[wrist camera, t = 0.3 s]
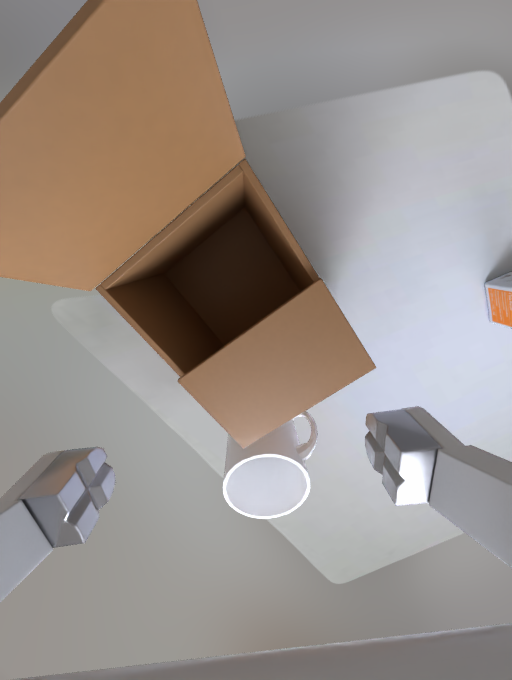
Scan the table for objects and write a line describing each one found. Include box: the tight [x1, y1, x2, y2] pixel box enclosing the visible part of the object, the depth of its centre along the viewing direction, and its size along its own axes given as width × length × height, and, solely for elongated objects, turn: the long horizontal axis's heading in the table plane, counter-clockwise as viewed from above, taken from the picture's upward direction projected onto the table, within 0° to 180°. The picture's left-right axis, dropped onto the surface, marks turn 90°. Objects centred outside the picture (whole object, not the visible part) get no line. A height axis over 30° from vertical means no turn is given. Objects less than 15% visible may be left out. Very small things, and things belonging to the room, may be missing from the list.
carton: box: [96, 159, 376, 449], centre depth 24 cm, size 17×13×14 cm
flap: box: [0, 0, 245, 291], centre depth 11 cm, size 8×13×1 cm
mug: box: [223, 411, 318, 519], centre depth 32 cm, size 10×12×12 cm
